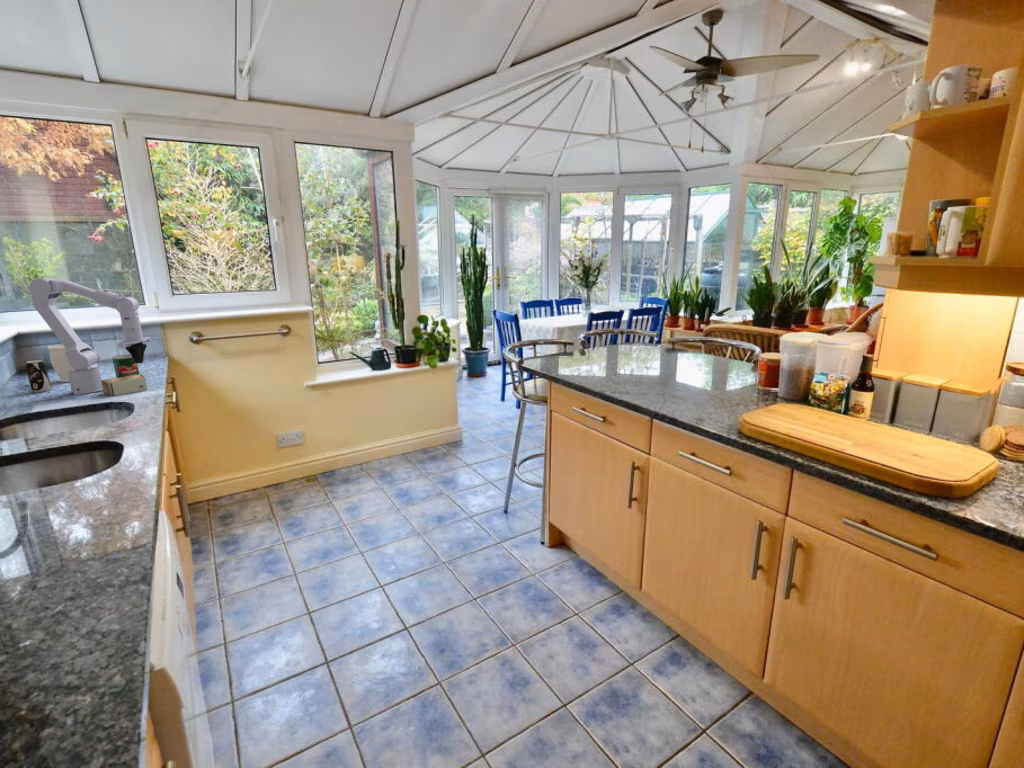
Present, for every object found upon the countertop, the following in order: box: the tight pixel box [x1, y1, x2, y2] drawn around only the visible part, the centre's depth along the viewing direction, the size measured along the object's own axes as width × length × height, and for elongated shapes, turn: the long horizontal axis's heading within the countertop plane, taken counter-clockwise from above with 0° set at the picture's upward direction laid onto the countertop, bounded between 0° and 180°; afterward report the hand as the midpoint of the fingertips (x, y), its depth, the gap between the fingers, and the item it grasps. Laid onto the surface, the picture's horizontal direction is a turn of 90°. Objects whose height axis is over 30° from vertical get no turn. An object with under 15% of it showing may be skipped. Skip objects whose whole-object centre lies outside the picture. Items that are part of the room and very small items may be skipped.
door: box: [107, 376, 149, 397], centre depth 194 cm, size 12×2×5 cm, turn 135°
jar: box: [47, 343, 74, 383], centre depth 213 cm, size 11×10×15 cm
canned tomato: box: [111, 353, 140, 378], centre depth 209 cm, size 8×8×11 cm
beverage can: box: [25, 359, 52, 393], centre depth 197 cm, size 6×6×12 cm
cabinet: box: [101, 373, 145, 397], centre depth 197 cm, size 13×6×5 cm, turn 138°
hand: (139, 363), depth 200 cm, fingers closed
